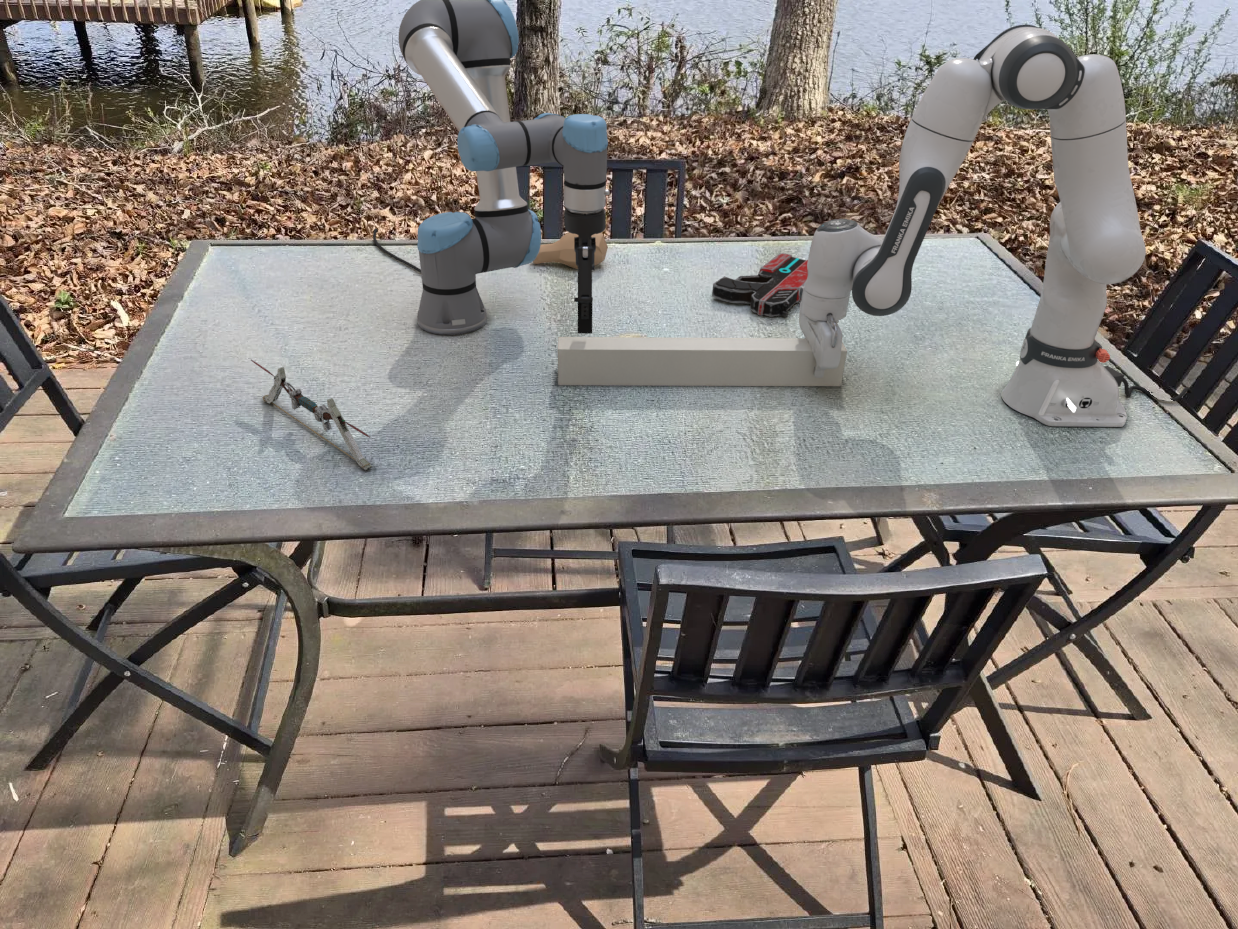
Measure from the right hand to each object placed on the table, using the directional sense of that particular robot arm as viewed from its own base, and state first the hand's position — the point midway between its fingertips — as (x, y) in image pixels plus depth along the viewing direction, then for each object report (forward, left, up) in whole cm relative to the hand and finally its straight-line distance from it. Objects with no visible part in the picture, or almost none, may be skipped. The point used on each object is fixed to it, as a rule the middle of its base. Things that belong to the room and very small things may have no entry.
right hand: (814, 367), depth 177 cm
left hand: (+45, +10, +11) cm, 47 cm away
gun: (+10, -45, -3) cm, 46 cm away
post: (+23, +5, -3) cm, 23 cm away
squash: (+62, -51, -3) cm, 80 cm away
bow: (+88, +40, -3) cm, 97 cm away
